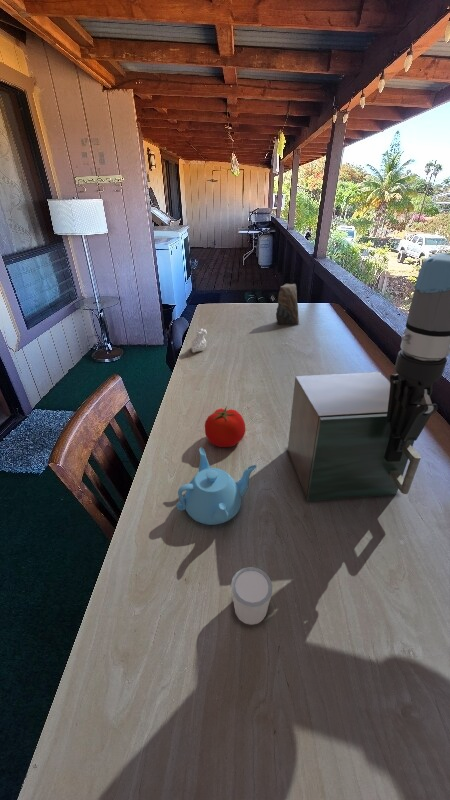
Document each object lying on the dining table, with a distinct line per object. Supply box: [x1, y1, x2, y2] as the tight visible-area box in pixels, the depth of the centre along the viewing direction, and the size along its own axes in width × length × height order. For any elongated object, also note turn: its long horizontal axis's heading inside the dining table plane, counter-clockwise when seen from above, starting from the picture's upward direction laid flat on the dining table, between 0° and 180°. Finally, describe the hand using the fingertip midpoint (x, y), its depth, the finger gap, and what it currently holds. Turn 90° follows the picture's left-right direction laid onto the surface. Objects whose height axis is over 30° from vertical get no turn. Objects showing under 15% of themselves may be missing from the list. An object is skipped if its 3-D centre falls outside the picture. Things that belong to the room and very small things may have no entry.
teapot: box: [175, 447, 257, 526], centre depth 79 cm, size 15×15×10 cm
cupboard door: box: [306, 414, 422, 502], centre depth 75 cm, size 7×22×23 cm, turn 95°
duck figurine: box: [191, 328, 208, 353], centre depth 159 cm, size 12×8×11 cm
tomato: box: [204, 405, 246, 448], centre depth 100 cm, size 12×12×10 cm
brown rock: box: [275, 283, 300, 326], centre depth 190 cm, size 13×13×20 cm
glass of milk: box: [230, 566, 273, 626], centre depth 60 cm, size 7×7×7 cm
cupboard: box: [287, 371, 390, 498], centre depth 86 cm, size 18×22×24 cm
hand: (392, 459), depth 72 cm, fingers closed
